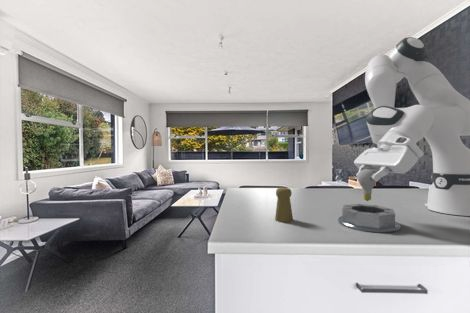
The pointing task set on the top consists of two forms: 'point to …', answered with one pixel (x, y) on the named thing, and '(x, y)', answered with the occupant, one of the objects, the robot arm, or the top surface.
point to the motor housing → (369, 218)
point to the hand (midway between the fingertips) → (365, 178)
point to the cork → (283, 205)
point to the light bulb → (366, 182)
